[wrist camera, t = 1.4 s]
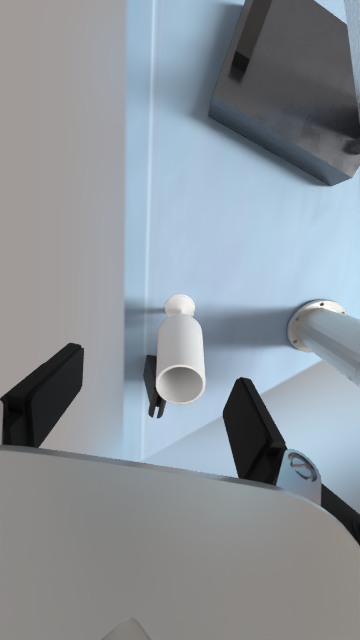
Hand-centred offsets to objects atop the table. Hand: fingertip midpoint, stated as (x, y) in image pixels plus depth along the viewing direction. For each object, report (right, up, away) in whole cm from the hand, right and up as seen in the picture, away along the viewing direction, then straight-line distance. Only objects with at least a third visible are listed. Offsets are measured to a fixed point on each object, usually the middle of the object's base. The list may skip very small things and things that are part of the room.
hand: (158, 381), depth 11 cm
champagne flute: (+1, +6, +29) cm, 29 cm away
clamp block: (+19, +37, +17) cm, 45 cm away
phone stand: (-3, -8, +34) cm, 36 cm away
